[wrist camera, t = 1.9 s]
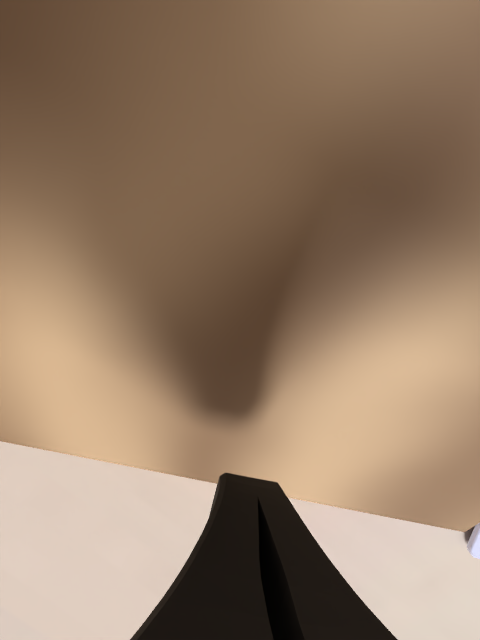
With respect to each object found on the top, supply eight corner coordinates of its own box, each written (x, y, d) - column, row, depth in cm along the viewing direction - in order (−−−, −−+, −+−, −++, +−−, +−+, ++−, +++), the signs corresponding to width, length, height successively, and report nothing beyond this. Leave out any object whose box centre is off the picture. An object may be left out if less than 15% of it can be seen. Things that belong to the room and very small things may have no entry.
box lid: (1232, -22, 5) (1337, -12, 4) (460, 514, 15) (465, 535, 15) (-421, -627, 4) (-541, -713, 3) (-31, 416, 14) (-44, 435, 14)
